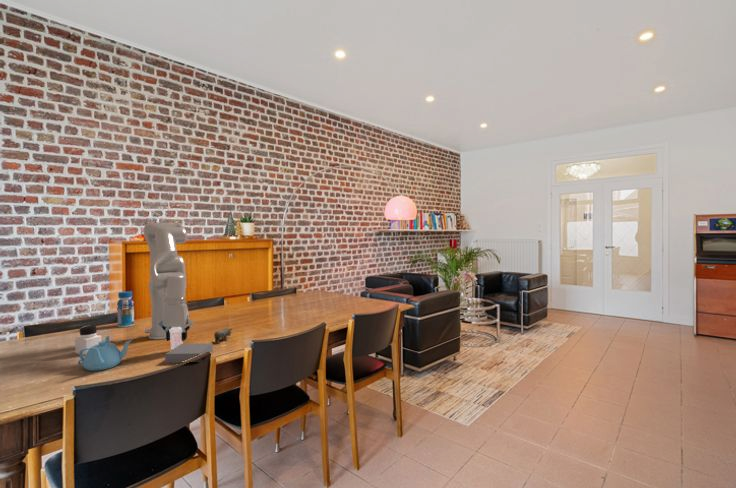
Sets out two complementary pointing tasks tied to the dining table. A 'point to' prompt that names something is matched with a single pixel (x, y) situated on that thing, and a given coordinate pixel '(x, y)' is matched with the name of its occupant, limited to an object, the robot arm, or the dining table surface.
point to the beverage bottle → (125, 309)
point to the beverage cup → (175, 337)
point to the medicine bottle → (87, 339)
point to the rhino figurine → (222, 335)
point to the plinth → (187, 352)
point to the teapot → (102, 356)
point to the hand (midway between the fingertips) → (176, 339)
